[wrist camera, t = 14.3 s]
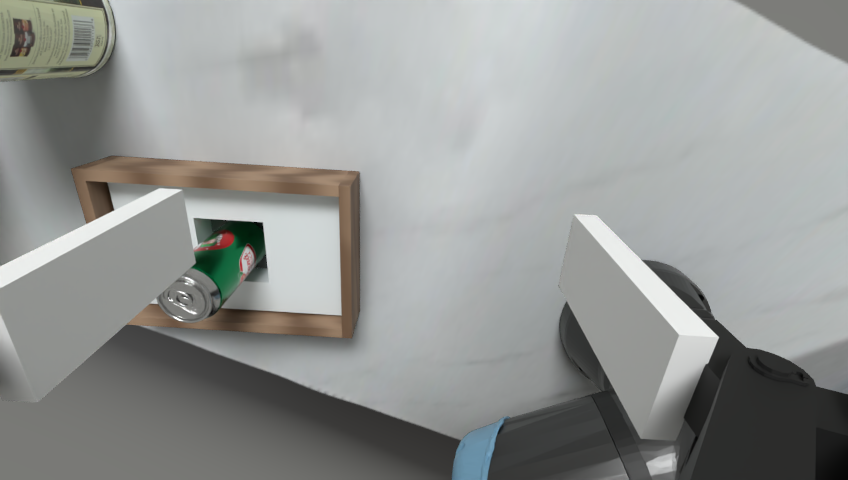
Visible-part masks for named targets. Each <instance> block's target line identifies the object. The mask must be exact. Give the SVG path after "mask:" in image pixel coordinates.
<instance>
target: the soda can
mask: <svg viewBox="0 0 848 480" xmlns="http://www.w3.org/2000/svg"><path fill="white" fill-rule="evenodd" d="M193 250H194V256H195V261H196V263H195V264H194V265H193V266H192V267H191V268H190V269H189V270H187V271H186V272H185V273H184V274H183V275H182V276H181V277H179V278H178V279H177V280H176V281H175V282H174V283H173V284H172V285H170V286H169V287H168V288H167V289H166V290H165V291H164V292H162V293H161V294H160V295H159V296H158V297H157V298H156V299H157V302H158V305H159V306H160V308H161V309H162V310H163V311H164V312H165V313H166V314H167V315H168V316H169V317H171V318H173V319H175V320H177V321H180V322H184V323H196V322H199V321H202V320H203V319H206V318H209V317H211V316H213V315H214V314H216V313H217V312H218V311H219V309H220V308H221V307H222V306H223V305H224V303H225V302H226V301H227V300H228V299H229V297H230V296H231V295H232V294H233V293H234V292H235V290H236V289H237V288H238V287H239V286H240V284H241V283H242V282H243V281H244V280H245V279H246V277H247V276H248V275H249V274H250V273H251V271H252V270H253V269H254V268H255V267H256V265H257V264H258V263H259V262H260V261H261V260H262V258H263V257H264V256H265V254H266V248H265V238H264V232H263V231H262V229H261V228H260V227H259V226H257V225H256V224H255V223H253V222H250V221H234V220H230V221H228V222H226V223H225V224H224V225H222V226H221V227H220V228H219V229H218V230H216V231H215V232H214V233H213V234H211V235H210V236H209V237H208V238H206V239H205V240H204V241H203V242H201V243H200V244H199V245H198V246H196V247H195V248H194V249H193Z"/></svg>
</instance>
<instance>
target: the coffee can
mask: <svg viewBox="0 0 848 480" xmlns="http://www.w3.org/2000/svg"><path fill="white" fill-rule="evenodd" d="M114 40H115V25H114V19H113V14H112V10H111V8H110V5H109V3H108V0H0V82H4V81H17V80H31V79H46V78H59V77H70V78H78V77H83V76H87V75H90V74H93V73H94V72H96V71H98V70H99V69H100V68H101V67H102V66H103V65H104V64H105V63H106V62H107V60H108V59H109V57H110V55H111V52H112V49H113V46H114Z"/></svg>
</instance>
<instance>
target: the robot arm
mask: <svg viewBox="0 0 848 480" xmlns="http://www.w3.org/2000/svg"><path fill="white" fill-rule="evenodd" d="M195 263H196V261H195V256H194V250H193V245H192V239H191V234H190V228H189V223H188V217H187V212H186V206H185V201H184V195H183V190H180V189H164V188H159V189H157V190H155V191H153V192H151V193H149V194H147V195H145V196H143V197H141V198H139V199H137V200H135V201H133V202H131V203H129V204H126V205H124V206H122V207H120V208H118V209H116V210H114V211H112V212H110V213H108V214H106V215H104V216H102V217H100V218H98V219H96V220H94V221H92V222H90V223H88V224H86V225H84V226H82V227H80V228H78V229H76V230H74V231H71V232H69V233H67V234H65V235H63V236H61V237H59V238H57V239H55V240H53V241H51V242H49V243H47V244H45V245H43V246H41V247H39V248H37V249H35V250H33V251H31V252H29V253H27V254H25V255H23V256H21V257H18V258H16V259H14V260H12V261H10V262H8V263H6V264H4V265H2V266H0V397H1V399H2V400H6V401H22V402H39V401H40V400H41V399H42V398H43V397H44V396H45V395H46V394H47V393H49V392H50V391H51V390H52V389H53V388H54V387H55V386H57V385H58V384H59V383H60V382H61V381H62V380H63V379H65V378H66V377H67V376H68V375H69V374H70V373H71V372H73V371H74V370H75V369H76V368H77V367H78V366H79V365H80V364H82V363H83V362H84V361H85V360H86V359H87V358H89V356H91V355H92V354H93V353H94V352H95V351H96V350H97V349H98V348H100V347H101V346H102V345H103V344H104V343H105V342H107V341H108V340H109V339H110V338H111V337H112V336H114V335H115V334H116V333H117V332H118V331H119V330H120V329H121V328H123V327H124V326H125V325H126V324H127V323H128V322H129V321H131V320H132V319H133V318H134V317H135V316H136V315H137V314H139V313H140V312H141V311H142V310H143V309H144V308H145V307H147V306H148V305H149V304H150V303H151V302H152V301H153V300H154V299H156V298H157V297H158V296H159V295H160V294H161V293H162V292H164V291H165V290H166V289H167V288H168V287H169V286H170V285H172V284H173V283H174V282H175V281H176V280H177V279H178V278H179V277H181V276H182V275H183V274H184V273H185V272H186V271H187V270H189V269H190V268H191V267H192V266H193V265H194V264H195ZM558 286H559V288H560V289H561V291H562V293H563V295H564V297H565V299H566V301H567V303H566V304H565V307H564V309H563V312H562V315H561V320H560V335H561V339H562V342H563V345H564V347H565V349H566V352H567V354H568V356H569V358H570V360H571V361H572V363H573V364H574V365H575V367H576V368H577V369H578V370H579V371H580V372H581V373H582V374H584V375H585V376H586V377H587V378H589V379H591V380H592V381H593V382H594V383H595V384H596V385H597V386H598V388H599V389H600V390H601V391H602V392H599V393H595V394H592V395H588V396H585V397H581V398H578V399H574V400H571V401H567V402H564V403H560V404H557V405H554V406H550V407H547V408H543V409H540V410H536V411H533V412H529V413H526V414H522V415H519V416H516V417H512V418H510V417H509V416H508V417H503V418H501V419H500V420H499V421H498V422H496V423H493V424H490V425H488V426H485V427H482V428H479V429H476V430H474V431H471V432H470V433H468V434H467V435H466V436H465V437H464V438H463V439H462V441H461V442H460V444H459V446H458V448H457V451H456V456H455V459H454V463H453V471H452V480H848V394H844V393H840V392H836V391H832V390H828V389H824V388H820V387H816V385H815V382H814V380H813V379H812V378H811V377H810V376H809V375H808V374H807V373H806V372H805V371H804V370H803V369H801V368H800V367H798V366H797V365H795V364H794V363H792V362H791V361H789V360H786V359H784V358H782V357H780V356H778V355H775V354H772V353H769V352H766V351H763V350H759V349H751V348H746V347H745V346H744V345H743V344H742V343H741V342H740V341H739V340H737V339H736V338H735V337H734V336H733V335H732V334H731V333H730V332H729V331H728V330H727V329H726V328H725V327H724V326H723V325H722V324H720V323H719V322H718V321H717V320H715V318H714V316H713V315H712V313H711V309H710V306H709V304H708V301H707V299H706V297H705V296H704V294H703V293H702V291H701V290H700V289H699V288H698V286H697V285H696V284H694V283H693V282H692V281H691V280H690V279H689V278H688V277H687V276H686V275H684V274H683V273H682V272H681V271H679V270H677V269H676V268H674V267H672V266H669V265H667V264H664V263H660V262H655V261H648V260H641V259H640V258H639V257H638V256H637V255H636V254H635V253H634V252H633V251H632V250H631V249H630V248H629V247H628V246H627V245H626V244H625V243H624V242H623V241H622V240H621V239H620V238H619V237H618V236H617V235H616V234H615V233H614V232H613V231H612V230H611V229H610V228H609V227H608V226H607V225H606V224H605V223H604V222H603V221H602V220H601V219H600V218H599V217H598V216H596V215H581V214H574V215H573V220H572V224H571V229H570V234H569V238H568V243H567V248H566V252H565V257H564V261H563V266H562V271H561V275H560V280H559V285H558Z"/></svg>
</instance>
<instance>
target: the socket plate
mask: <svg viewBox="0 0 848 480" xmlns="http://www.w3.org/2000/svg"><path fill="white" fill-rule="evenodd" d="M107 183H108V187H109V191H110V195H111V199H112V203H113V207H114V210H116V209H118V208H120V207H122V206H124V205H126V204H129V203H131V202H133V201H135V200H137V199H139V198H141V197H143V196H145V195H147V194H149V193H151V192H153V191H155V190H157V189H159V188H164V189H180V190H183V195H184V201H185V206H186V212H187V217H188V223H189V228H190V234H191V239H192V245H193V249H194V248H195V247H196V246H198V245H199V244H200V243H201V242H203V241H204V240H205V239H206V238H208V237H209V236H210V235H211V234H213V231H212V225H211V219H218V220H234V221H250V222H263V228H264V238H265V248H266V257H267V267H268V268H254V269H253V270H252V271H251V273H250V274H249V275H248V276H247V277H246V279H245V280H244V281H243V282H242V283H241V284H240V286H239V287H238V288H237V289H236V290H235V292H234V293H233V294H232V295H231V296H230V297H229V299H228V300H227V301H226V302H225V303H224V305H223V306H222V307H221V308H229V309H245V310H261V311H277V312H293V313H309V314H325V315H341V316H342V314H341V272H340V230H339V197H333V196H318V195H302V194H286V193H270V192H255V191H239V190H223V189H207V188H191V187H176V186H160V185H144V184H128V183H113V182H107ZM150 304H158V302H157V299H154V300H153V301H152V302H151V303H150Z"/></svg>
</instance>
